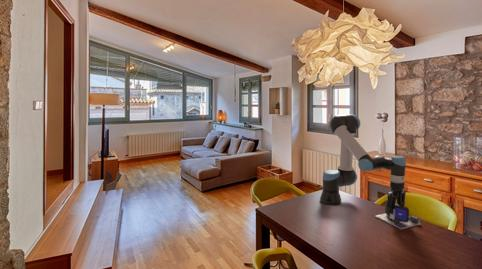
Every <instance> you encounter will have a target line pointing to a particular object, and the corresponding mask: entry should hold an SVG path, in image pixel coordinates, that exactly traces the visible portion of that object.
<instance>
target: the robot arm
mask: <svg viewBox="0 0 482 269" xmlns="http://www.w3.org/2000/svg"><path fill="white" fill-rule="evenodd" d="M329 127H330V130H331V132H332V134H334V136H336V137H338V139H339V140H340V154H339V155H340V156H339V157H340V158H339V165H338V167H337V169H326V170H324V171H323V173H322V191H321V195H320V197H319V201H320V203H322V204H324V205H328V206H338V205H341V204H342V197H341V194H340V187H347V186H352V185H355V183H356V182H357V181H358V175H357V172H356V171H355V168H354V167H353V157H354V158H355V159H356V160H357V162H358V163H357V165H358V168H359V170H360V171H362V172H370V171H371V172H372V171H377V170H388V171H390V176H389V177H390V178H389V180H390V181H389V187H390V188H391V189H390V191H389V192H386V195H387V199H386V200H387V207H388V208H390V218H391V219H393V220H395V209H394V207H395V203H398V204H400V205H403V206H406V205H405V204H406V194H407V190H405V177H406V166H407V162H406V161H407V159H406V157H405V156H403V155H402V156H401V155H392V156H391V157H388V156H387V157H386V156H384V155H383V156H382V155H375V156H374V157H371V155H370V154H369V153H368V152H367V151H366V149H364V147H363V146H362V145H361V144H360V143H359V142H358V141H357V139H356V138H355V135H356V134H357V130H359V128H360V127H361V119H360V118H359V117H358V116H357V115H355V114H350V113H349V114H337V115H334V116H333V117H331V119H330V122H329Z"/></svg>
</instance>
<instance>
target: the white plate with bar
mask: <svg viewBox="0 0 482 269" xmlns="http://www.w3.org/2000/svg"><path fill="white" fill-rule="evenodd" d="M375 218H376V219H378V220H380V221H381V222H384V223H386V224H389V225H390V226H393V227H395V228H397V229H399V230H404V229H405V230H406V229H408V228H409V229H410V228H413V227H416V226H420V225H421V219H420V217H418V216H415V215H409V221H408V222H401V221H398V220H393V219H391V218H390V217H389V216H388V215H387V214H386V213H381V214H377V215H375Z"/></svg>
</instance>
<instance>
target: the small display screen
mask: <svg viewBox="0 0 482 269" xmlns="http://www.w3.org/2000/svg"><path fill="white" fill-rule="evenodd" d="M387 200H388V199H386V200H385V206H384V209H385V210H384V212H385V213H386V214H387V215H388V216H389V217H390V208H388V207H387ZM394 209H395V220H398V221H401V222H408V221H409V216H410V209H409V208H408V207H407V206H406V205H404V206H403V205H400V204H398V203H397V202H396V203H395V207H394ZM385 213H384V214H385Z"/></svg>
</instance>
